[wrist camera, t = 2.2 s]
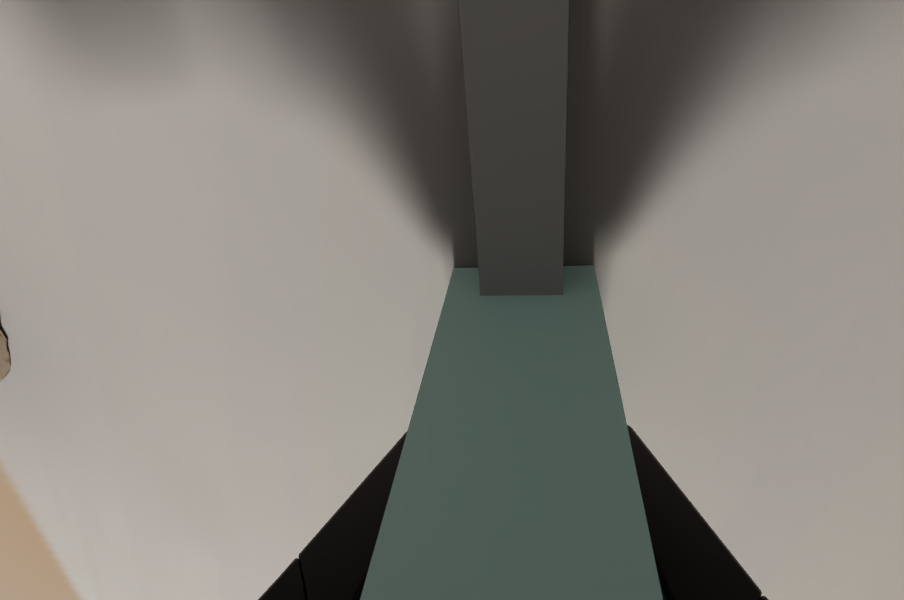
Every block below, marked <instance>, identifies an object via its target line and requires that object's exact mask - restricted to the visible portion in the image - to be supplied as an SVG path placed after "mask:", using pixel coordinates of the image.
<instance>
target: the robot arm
mask: <svg viewBox="0 0 904 600" xmlns="http://www.w3.org/2000/svg"><path fill="white" fill-rule="evenodd" d="M627 428H628V433H629V437H630V442H631V447H632V452H633V457H634V462H635V466H636V471H637V476H638V481H639V486H640V490H641V495H642V500H643V505H644V510H645V515H646V519H647V524H648V529H649V534H650V539H651V543H652V548H653V553H654V558H655V563H656V568H657V572H658V577H659V582H660V587H661V592H662V597H663V600H768V599H767V598H766V597H765V596H761V594H762V592H761V590H760V589H759V588H758V586H757V585H756V584H755V583H754V581H753V580H752V579H751V578H750V576H749V575H748V574H747V573H746V571H745V570H744V569H743V568H742V566H741V565H740V564H739V562H738V561H737V560H736V559H735V557H734V556H733V555H732V554H731V552H730V551H729V550H728V549H727V547H726V546H725V545H724V544H723V542H722V541H721V540H720V539H719V537H718V536H717V535H716V533H715V532H714V531H713V530H712V528H711V527H710V526H709V525H708V523H707V522H706V521H705V520H704V518H703V517H702V516H701V515H700V513H699V512H698V511H697V510H696V508H695V507H694V506H693V505H692V503H691V502H690V501H689V499H688V498H687V497H686V496H685V494H684V493H683V492H682V491H681V489H680V488H679V487H678V486H677V484H676V483H675V482H674V481H673V479H672V478H671V477H670V476H669V474H668V473H667V472H666V470H665V469H664V468H663V467H662V465H661V464H660V463H659V462H658V460H657V459H656V458H655V457H654V455H653V454H652V453H651V452H650V450H649V449H648V448H647V447H646V445H645V444H644V443H643V442H642V440H641V439H640V438H639V436H638V435H637V434H636V433H635V431H634V430H633V429H632V428H631V427H630V426H628V425H627ZM406 435H407V432H406V433H405V434H404V435H403V436H402V438H401V439H400V440H399V441H398V442H397V443H396V444H395V446H394V447H393V448H392V449H391V450H390V451H389V452H388V454H387V455H386V456H385V457H384V458H383V459H382V460H381V462H380V463H379V464H378V465H377V466H376V467H375V468H374V469H373V471H372V472H371V473H370V474H369V475H368V476H367V477H366V479H365V480H364V481H363V482H362V483H361V484H360V485H359V487H358V488H357V489H356V490H355V491H354V492H353V493H352V495H351V496H350V497H349V498H348V499H347V500H346V501H345V503H344V504H343V505H342V506H341V507H340V508H339V509H338V511H337V512H336V513H335V514H334V515H333V516H332V517H331V519H330V520H329V521H328V522H327V523H326V524H325V525H324V527H323V528H322V529H321V530H320V531H319V532H318V533H317V535H316V536H315V537H314V538H313V539H312V540H311V541H310V543H309V544H308V545H307V546H306V547H305V548H304V549H303V551H302V552H301V553H300V554H299V559H298V558H296V559H294V561H293V562H292V563H291V564H290V565H289V566H288V567H287V569H286V570H285V571H284V572H283V573H282V574H281V575H280V576H279V578H278V579H277V580H276V581H275V582H274V583H273V584H272V585H271V586H270V587H269V588H268V590H267V591H266V592H265V593H264V594H263V595H262V596H261V597H260V598H259V599H258V600H360V598H361V594H362V591H363V587H364V584H365V580H366V577H367V573H368V569H369V566H370V562H371V559H372V555H373V552H374V548H375V545H376V541H377V538H378V534H379V531H380V527H381V523H382V520H383V516H384V513H385V509H386V506H387V502H388V499H389V495H390V492H391V488H392V485H393V481H394V477H395V474H396V470H397V467H398V463H399V460H400V456H401V453H402V449H403V446H404V442H405V439H406ZM760 597H761V598H760Z"/></svg>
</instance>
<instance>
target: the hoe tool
mask: <svg viewBox="0 0 904 600" xmlns="http://www.w3.org/2000/svg"><path fill="white" fill-rule="evenodd" d="M458 6H459V19H460V32H461V45H462V59H463V72H464V85H465V98H466V112H467V125H468V138H469V151H470V165H471V178H472V191H473V205H474V218H475V231H476V244H477V258H478V267H476V268H454V269H453V272H452V276H451V279H450V283H449V286H448V290H447V293H446V297H445V301H444V304H443V308H442V311H441V315H440V318H439V322H438V325H437V329H436V332H435V336H434V339H433V343H432V347H431V350H430V354H429V357H428V361H427V364H426V368H425V371H424V375H423V378H422V382H421V385H420V389H419V393H418V396H417V400H416V403H415V407H414V410H413V414H412V417H411V421H410V424H409V428H408V431H407V435H406V439H405V442H404V446H403V449H402V453H401V456H400V460H399V463H398V467H397V470H396V474H395V477H394V481H393V485H392V488H391V492H390V495H389V499H388V502H387V506H386V509H385V513H384V516H383V520H382V523H381V527H380V531H379V534H378V538H377V541H376V545H375V548H374V552H373V555H372V559H371V562H370V566H369V569H368V573H367V577H366V580H365V584H364V587H363V591H362V594H361V598H360V600H663V597H662V592H661V587H660V582H659V577H658V572H657V568H656V563H655V558H654V553H653V548H652V543H651V539H650V534H649V529H648V524H647V519H646V515H645V510H644V505H643V500H642V495H641V490H640V486H639V481H638V476H637V471H636V466H635V462H634V457H633V452H632V447H631V442H630V437H629V433H628V428H627V423H626V418H625V413H624V408H623V404H622V399H621V394H620V389H619V384H618V380H617V375H616V370H615V365H614V360H613V355H612V351H611V346H610V341H609V336H608V331H607V327H606V322H605V317H604V312H603V307H602V302H601V298H600V293H599V288H598V283H597V278H596V274H595V269H594V265H584V266H563V251H564V206H565V160H566V115H567V69H568V24H569V0H458Z"/></svg>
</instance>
